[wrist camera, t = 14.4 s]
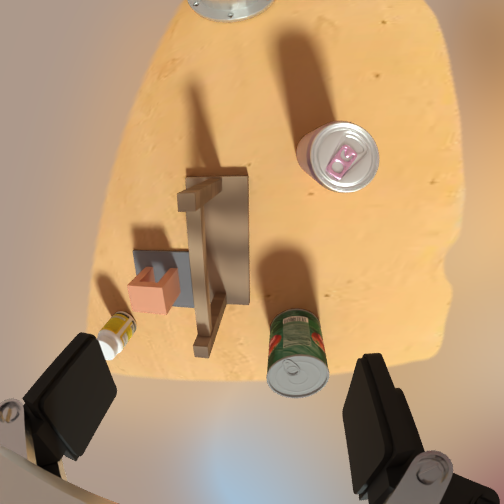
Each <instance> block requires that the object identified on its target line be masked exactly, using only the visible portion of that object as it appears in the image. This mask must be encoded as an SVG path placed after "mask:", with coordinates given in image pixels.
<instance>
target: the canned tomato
mask: <svg viewBox="0 0 504 504" xmlns="http://www.w3.org/2000/svg"><path fill="white" fill-rule="evenodd" d="M269 340H270V341H269V355H268V368H267V370H268V371H267V383H268V385H269V387H270V388H271V389H272V390H273V391H274V392H275V393H277V394H279V395H281V396H284V397H288V398H303V397H308V396H310V395H313V394H315V393H317V392H318V391H320V390H321V389H322V388H323V387H324V386H325V385H326V383H327V382H328V379H329V370H328V365H327V359H326V354H325V348H324V343H323V338H322V332H321V326H320V322H319V320H318V318H317V317H316V316H315V315H314V314H313V313H311V312H309V311H307V310H304V309H290V310H286V311H284V312H282V313H280V314H279V315H277V316H276V317H275V318H274V320H273V321H272V324H271V326H270V339H269Z"/></svg>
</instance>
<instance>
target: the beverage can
mask: <svg viewBox="0 0 504 504" xmlns="http://www.w3.org/2000/svg"><path fill="white" fill-rule="evenodd" d="M296 156H297V160H298V163H299V165H300V167H301V168H302V169H303V170H304V171H305V172H306V173H307V174H309V175H310V176H311V177H312V178H313V179H314V180H316V181H317V182H318V183H319V184H320V185H322V186H323V187H325V188H326V189H328V190H331V191H334V192H338V193H349V192H354V191H358V190H360V189H362V188H364V187H365V186H367V185H368V184H369V183H370V182H371V181H372V179H373V178H374V176H375V175H376V172H377V170H378V166H379V152H378V148H377V145H376V143H375V141H374V139H373V138H372V136H371V135H370V134H369V133H368V132H367V131H366V130H365V129H363V128H362V127H360V126H358V125H356V124H354V123H351V122H347V121H333V122H329V123H327V124H325V125H323V126H321V127H319V128H317V129H315V130H313V131H311V132H310V133H308V134H306V135H305V136H304V137H303V138H302V139H301V140H300V142H299V143H298V146H297V151H296Z"/></svg>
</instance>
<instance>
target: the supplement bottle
mask: <svg viewBox="0 0 504 504" xmlns="http://www.w3.org/2000/svg"><path fill="white" fill-rule="evenodd" d="M135 330H136V322H135V320H134V319H133V318H132V316H130V315H129V314H128V313H126V312H123V311H119V312H116V313H115V314H114V315H113V316H112V317H111V319H110V320H109V321H108V322H107V323H106V324H105V326H104V327H103V328H102V329H101V330H100V332H99V333H98V338H97V340H98V341H99V343H100V346H101V349H102V352H103V354H104V357H105V359H106V360H112V359H113V358H114V357H115V356H116V355H117V353H120V352H121V351H122V350H123V348H124V347H125V345H126V344H127V342H128V341H129V339H130V338H131V337H132V335H133V334H134V332H135Z"/></svg>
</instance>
